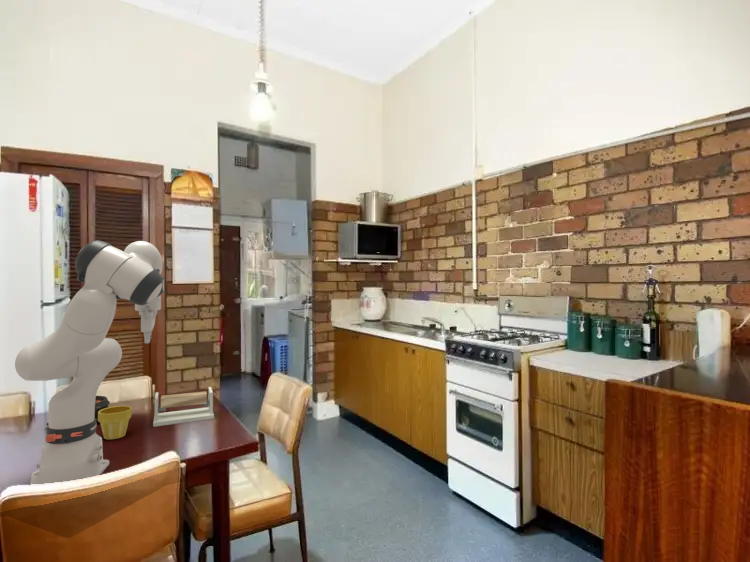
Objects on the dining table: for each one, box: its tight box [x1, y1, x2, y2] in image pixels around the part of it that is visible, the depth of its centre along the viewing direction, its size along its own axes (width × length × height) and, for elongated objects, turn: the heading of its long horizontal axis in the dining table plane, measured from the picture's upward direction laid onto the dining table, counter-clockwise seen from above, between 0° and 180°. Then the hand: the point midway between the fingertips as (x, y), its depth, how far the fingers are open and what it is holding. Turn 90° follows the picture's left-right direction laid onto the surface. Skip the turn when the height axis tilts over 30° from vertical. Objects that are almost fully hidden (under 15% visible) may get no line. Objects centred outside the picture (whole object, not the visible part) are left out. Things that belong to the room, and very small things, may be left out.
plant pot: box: [97, 405, 133, 441], centre depth 148 cm, size 10×10×10 cm
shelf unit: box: [152, 386, 215, 428], centre depth 168 cm, size 12×22×10 cm, turn 116°
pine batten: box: [160, 390, 208, 409], centre depth 168 cm, size 4×17×4 cm, turn 114°
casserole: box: [46, 395, 111, 426], centre depth 164 cm, size 25×19×8 cm
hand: (147, 341), depth 158 cm, fingers open, 8 cm apart
